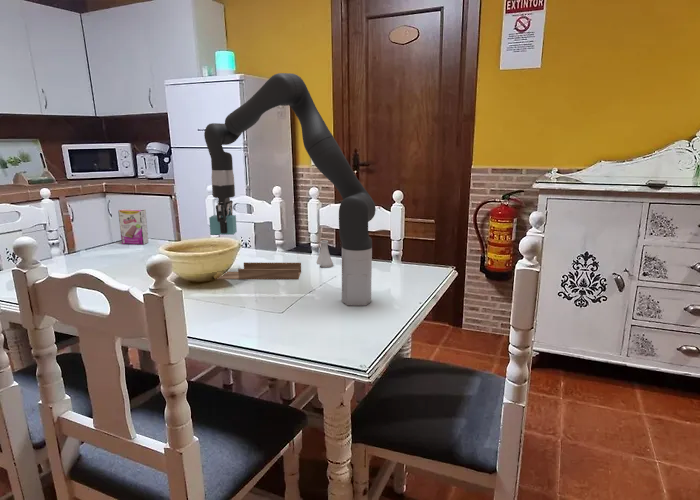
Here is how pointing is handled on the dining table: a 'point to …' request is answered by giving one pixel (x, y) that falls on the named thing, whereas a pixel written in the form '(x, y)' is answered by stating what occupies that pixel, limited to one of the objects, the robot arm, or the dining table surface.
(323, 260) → the flask
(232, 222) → the teal block
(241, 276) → the trap channel
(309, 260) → the dining table surface
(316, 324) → the dining table surface
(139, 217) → the candy bar box
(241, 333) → the dining table surface
